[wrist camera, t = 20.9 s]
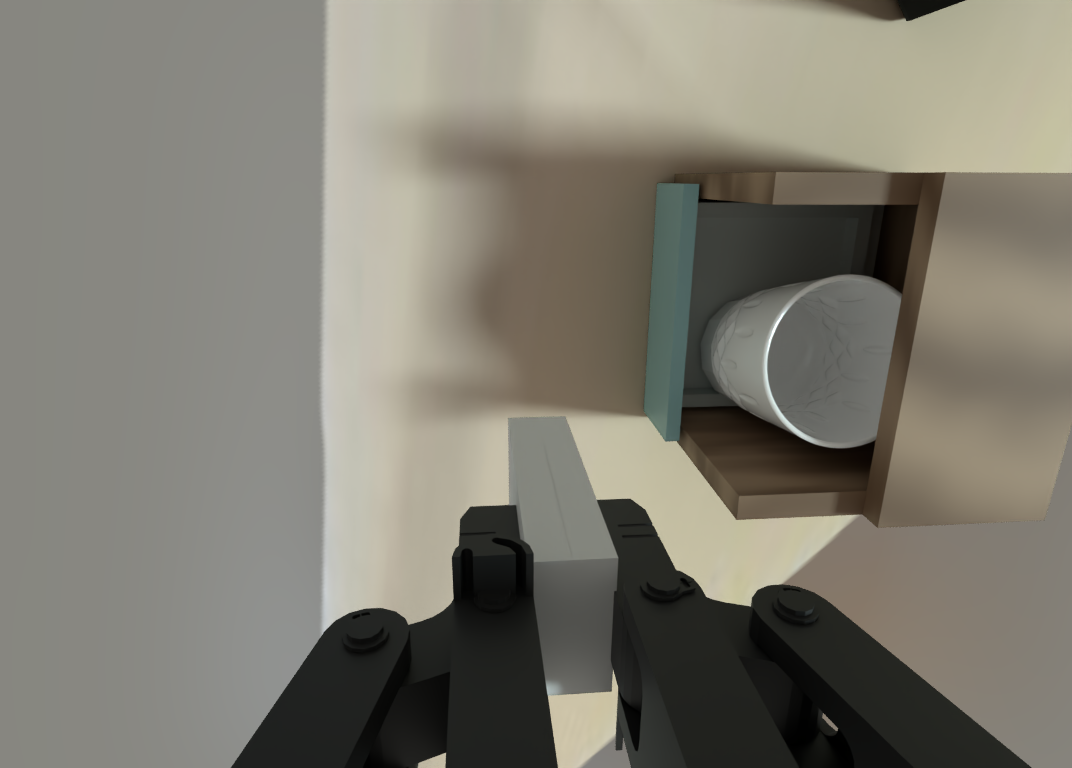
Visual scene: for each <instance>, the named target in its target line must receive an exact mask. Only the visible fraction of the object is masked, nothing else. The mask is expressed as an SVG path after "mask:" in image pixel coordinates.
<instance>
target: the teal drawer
mask: <svg viewBox="0 0 1072 768" xmlns="http://www.w3.org/2000/svg"><path fill="white" fill-rule="evenodd" d="M698 196H699V184H678V183H657V194H656V211H655V228H654V245H653V262H652V278H651V295H650V312H649V329H648V346H647V363H646V379H645V396H644V412H645V414H646V415H647V416H648V418H649V419H650V421H651V422H652V423H653V425H654V426H655V428H656V429H657V430H658V432H659V433H660V435H661V436H662V437H663V439H664V440H665V441H679V437H680V424H681V412H682V407H714V406H738V405H737V404H735V403H734V402H732V401H730V400H729V399H727V398H726V397H724V396H723V395H721V394H720V393H718V392H717V391H715V390H714V389H713V387H712V385H711V383H710V382H709V380H708V378H707V377H706V375H705V373H704V371H703V370H702V363H701V349H700V343H701V340H702V337H703V335H704V332H705V329H706V327H707V324H708V321H709V320H710V319H711V318H712V317H713V316H714V315H715V314H716V313H717V312H718V311H719V310H720V309H721V308H722V307H723V306H724V305H725V304H726V303H727V302H729V301H731V300H734V299H737V298H740V297H743V296H746V295H749V294H752V293H756V292H759V291H762V290H766V289H771V288H775V287H780V286H783V285H788V284H793V283H799V282H804V281H810V280H816V279H821V278H826V277H831V276H837V275H846V274H855V275H864V276H869V277H872V278H873V272H874V266H875V260H876V254H877V248H878V242H879V236H880V230H881V224H882V218H883V212H884V206H885V205H771V204H760V203H749V202H737V201H698Z"/></svg>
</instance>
